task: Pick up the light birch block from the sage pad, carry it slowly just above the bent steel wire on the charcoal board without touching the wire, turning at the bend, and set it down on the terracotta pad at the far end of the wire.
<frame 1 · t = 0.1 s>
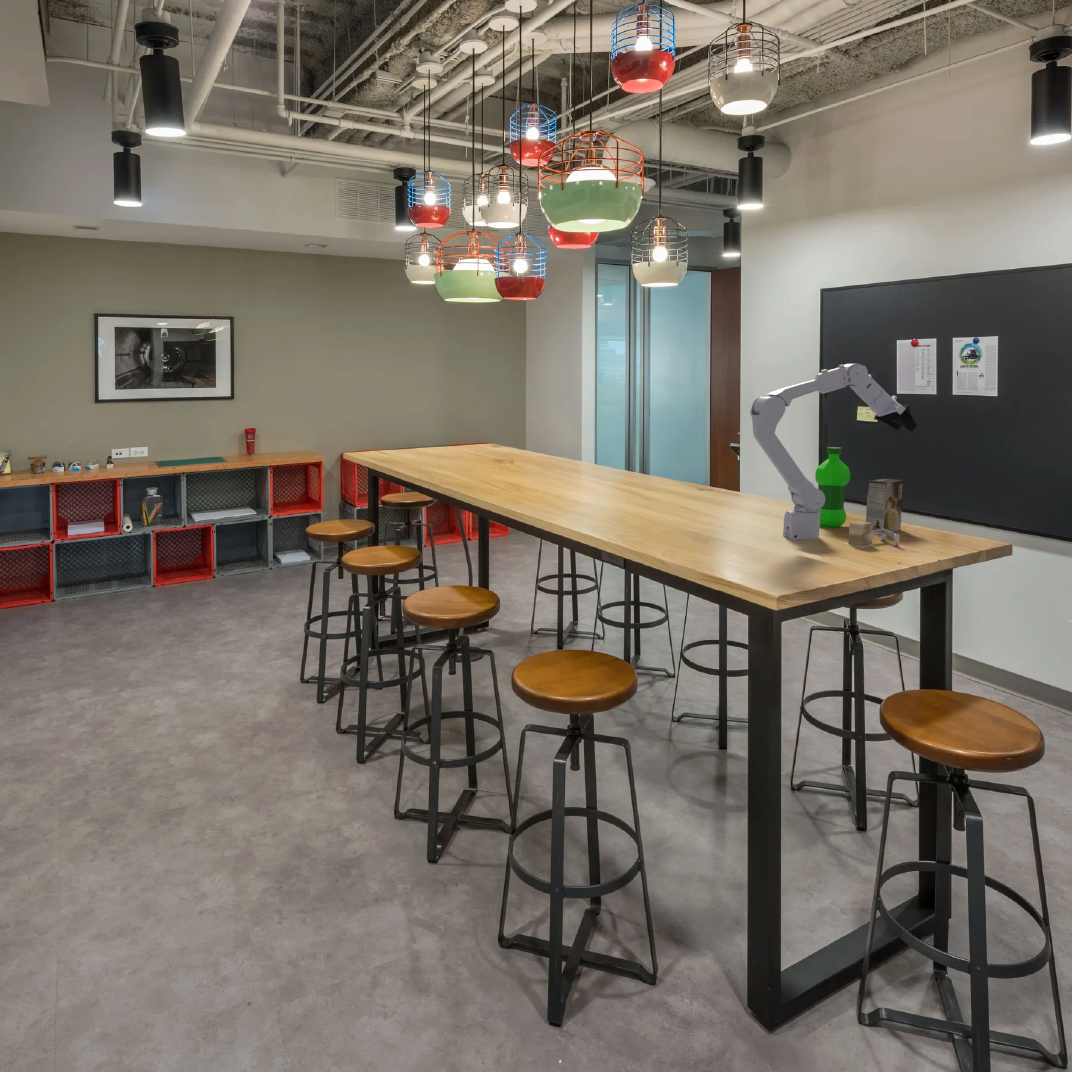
hand: (906, 428, 230), 32 cm above the table, tool tilted 50°, fingers open, 7 cm apart
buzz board: (877, 549, 221), on the table
coffee box: (882, 533, 246), on the table
bent wire: (883, 541, 228), resting on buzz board
birch block: (859, 544, 223), point 1 cm above the table, touching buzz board
plastic bottle: (829, 528, 254), on the table
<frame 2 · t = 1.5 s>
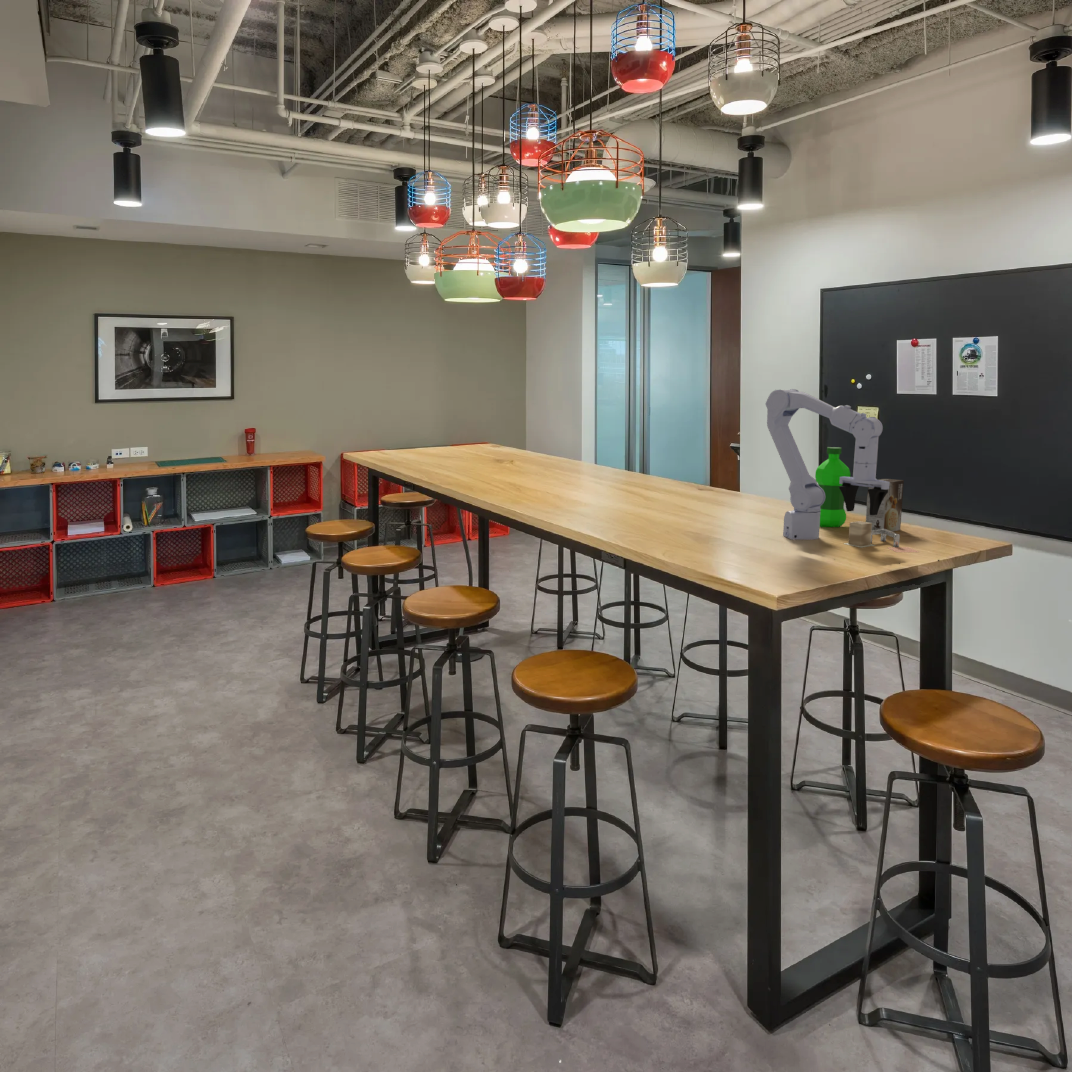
hand: (861, 512, 221), 10 cm above the table, tool pointing down, fingers open, 7 cm apart
nothing on the table moved.
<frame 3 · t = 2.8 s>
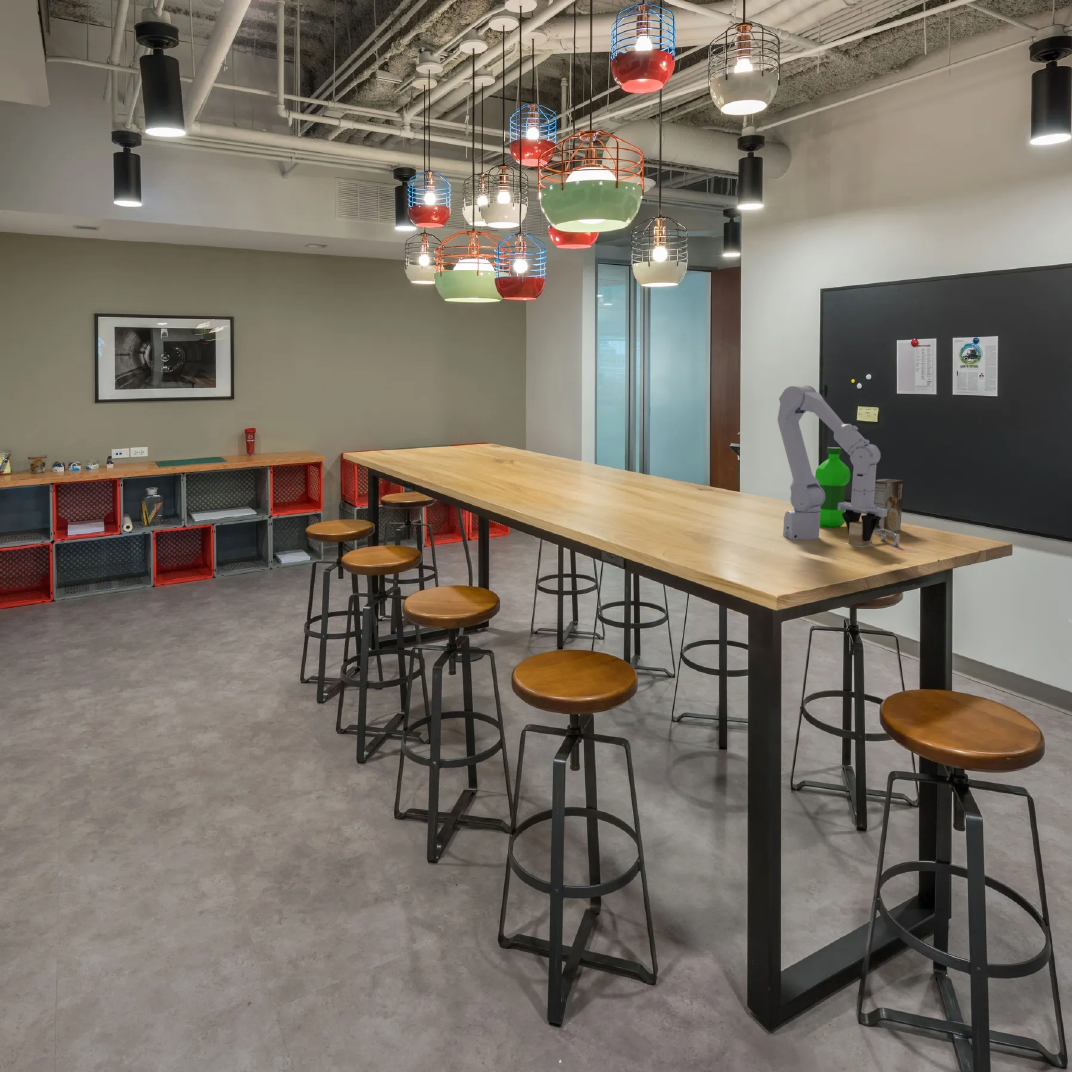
hand: (859, 539, 223), 3 cm above the table, tool pointing down, fingers closed on birch block, 4 cm apart
birch block: (859, 544, 223), point 1 cm above the table, touching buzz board, gripper
everything else where it was.
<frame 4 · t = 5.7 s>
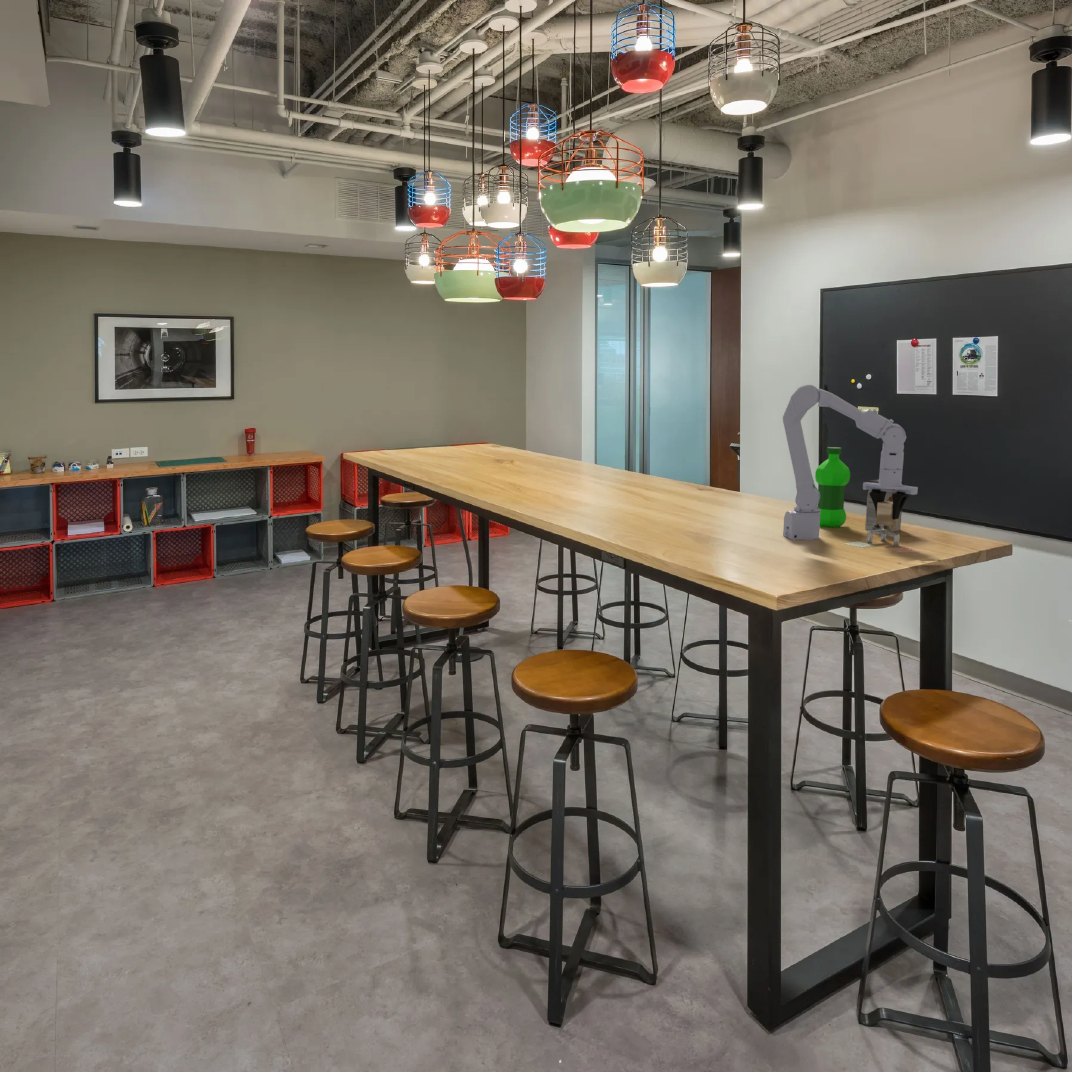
hand: (887, 518, 225), 8 cm above the table, tool pointing down, fingers closed on birch block, 4 cm apart
birch block: (886, 524, 225), point 6 cm above the table, touching gripper
everything else where it was.
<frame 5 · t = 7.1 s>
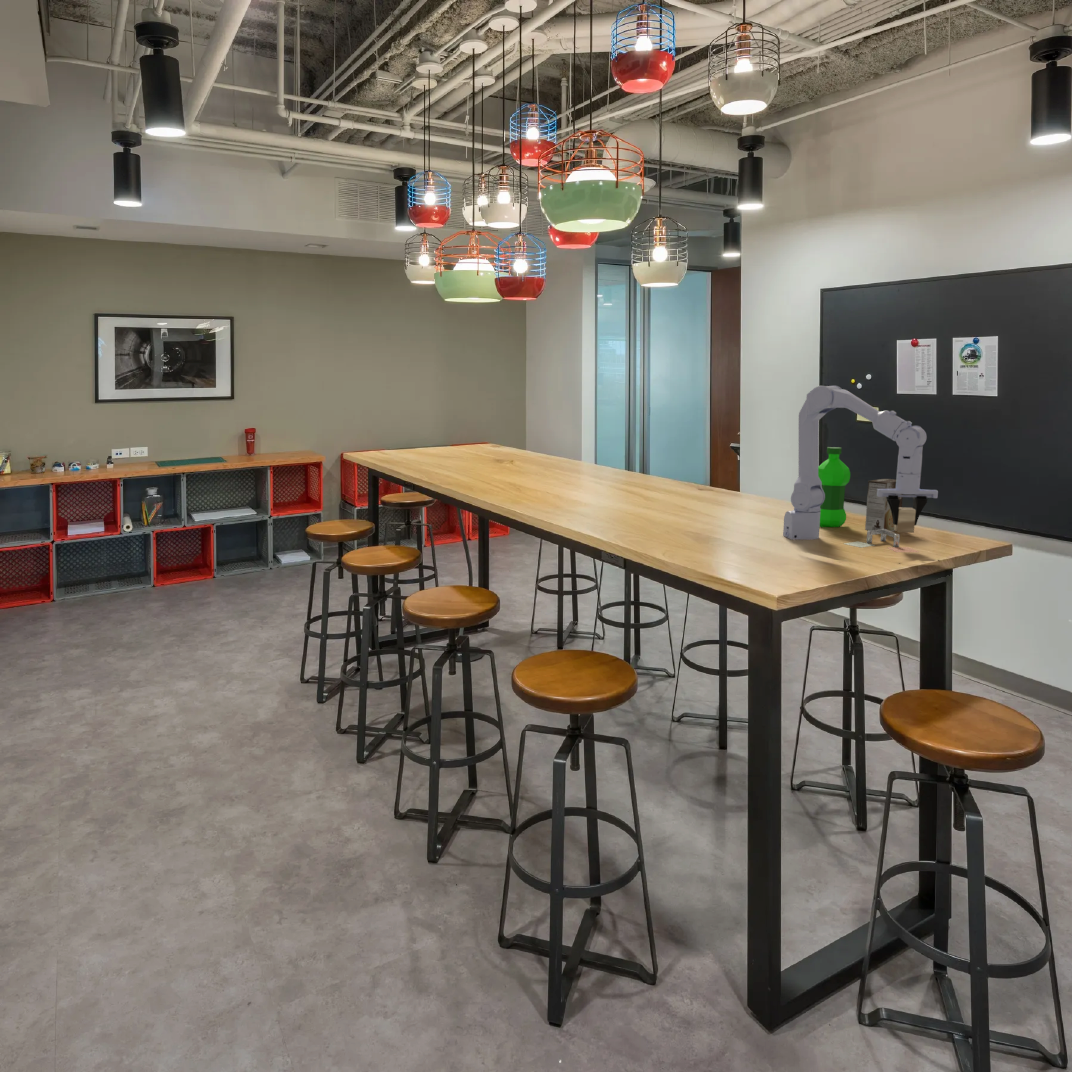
hand: (904, 524, 215), 8 cm above the table, tool pointing down, fingers closed on birch block, 4 cm apart
birch block: (903, 531, 215), point 6 cm above the table, touching gripper
everything else where it was.
when the fingers open (4 cm above the table, at t = 8.5 s): birch block drops 1 cm, resting on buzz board.
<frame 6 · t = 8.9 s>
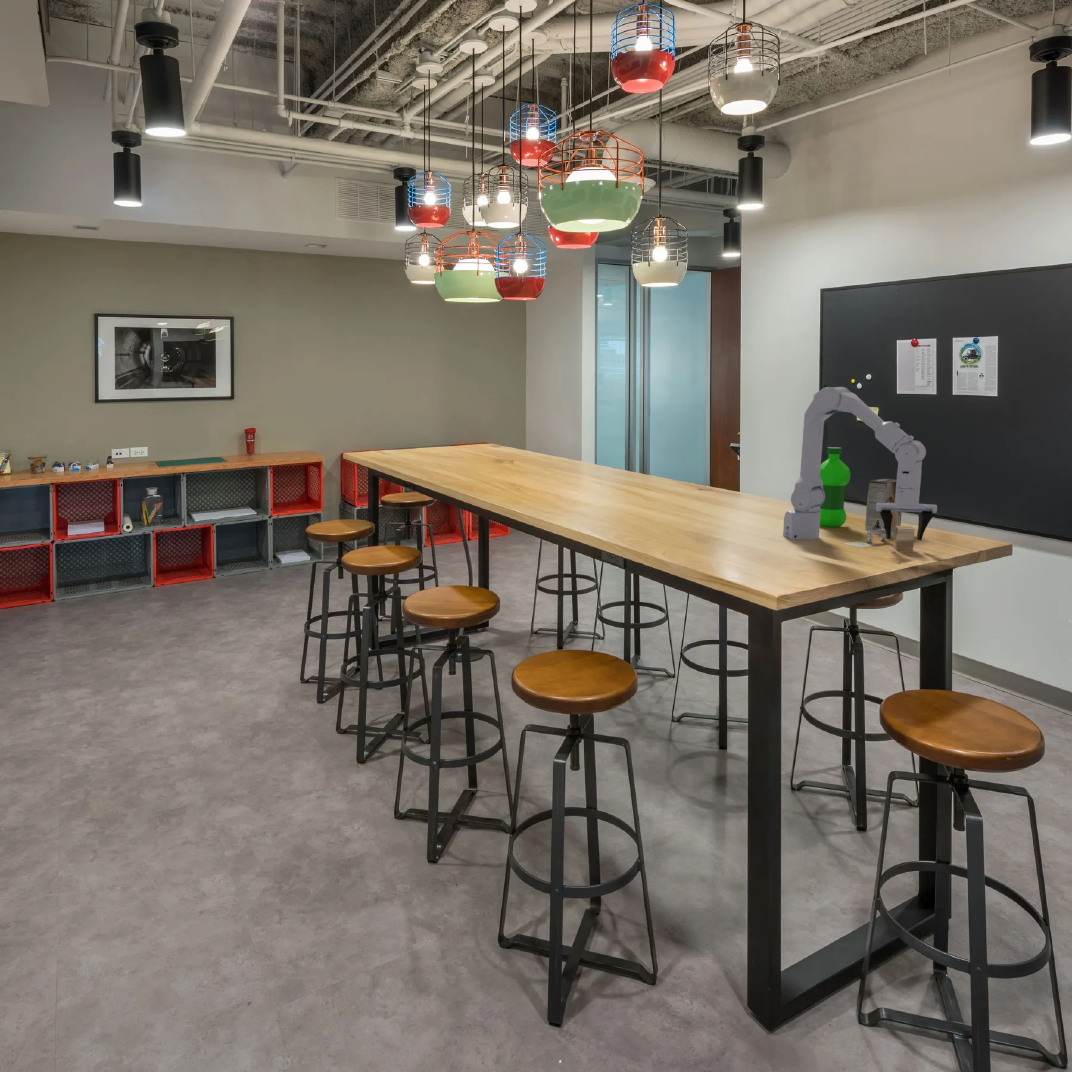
hand: (903, 538, 215), 4 cm above the table, tool pointing down, fingers open, 7 cm apart
birch block: (902, 549, 216), point 1 cm above the table, touching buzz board
everything else where it was.
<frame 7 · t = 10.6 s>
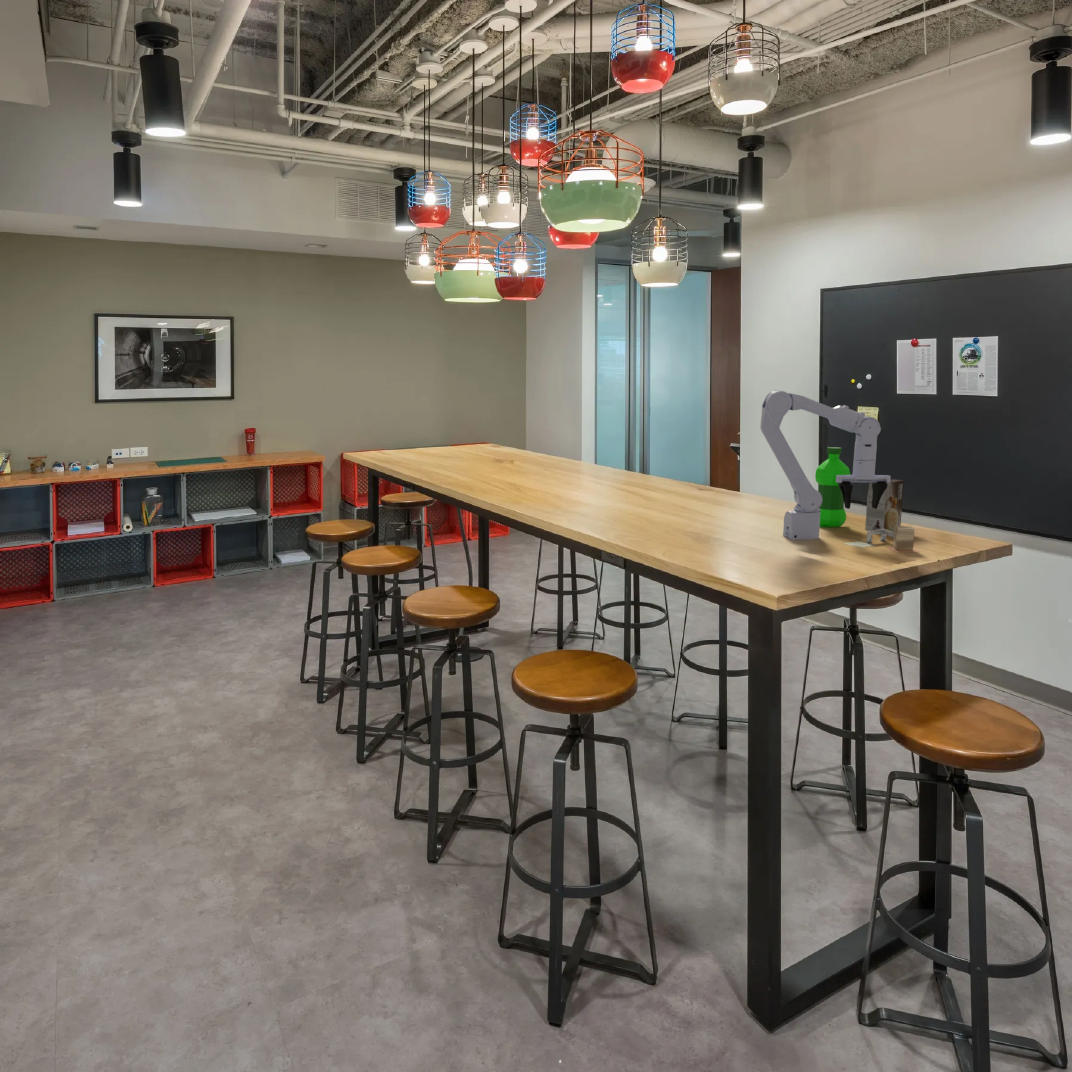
hand: (860, 508, 230), 10 cm above the table, tool pointing down, fingers open, 7 cm apart
nothing on the table moved.
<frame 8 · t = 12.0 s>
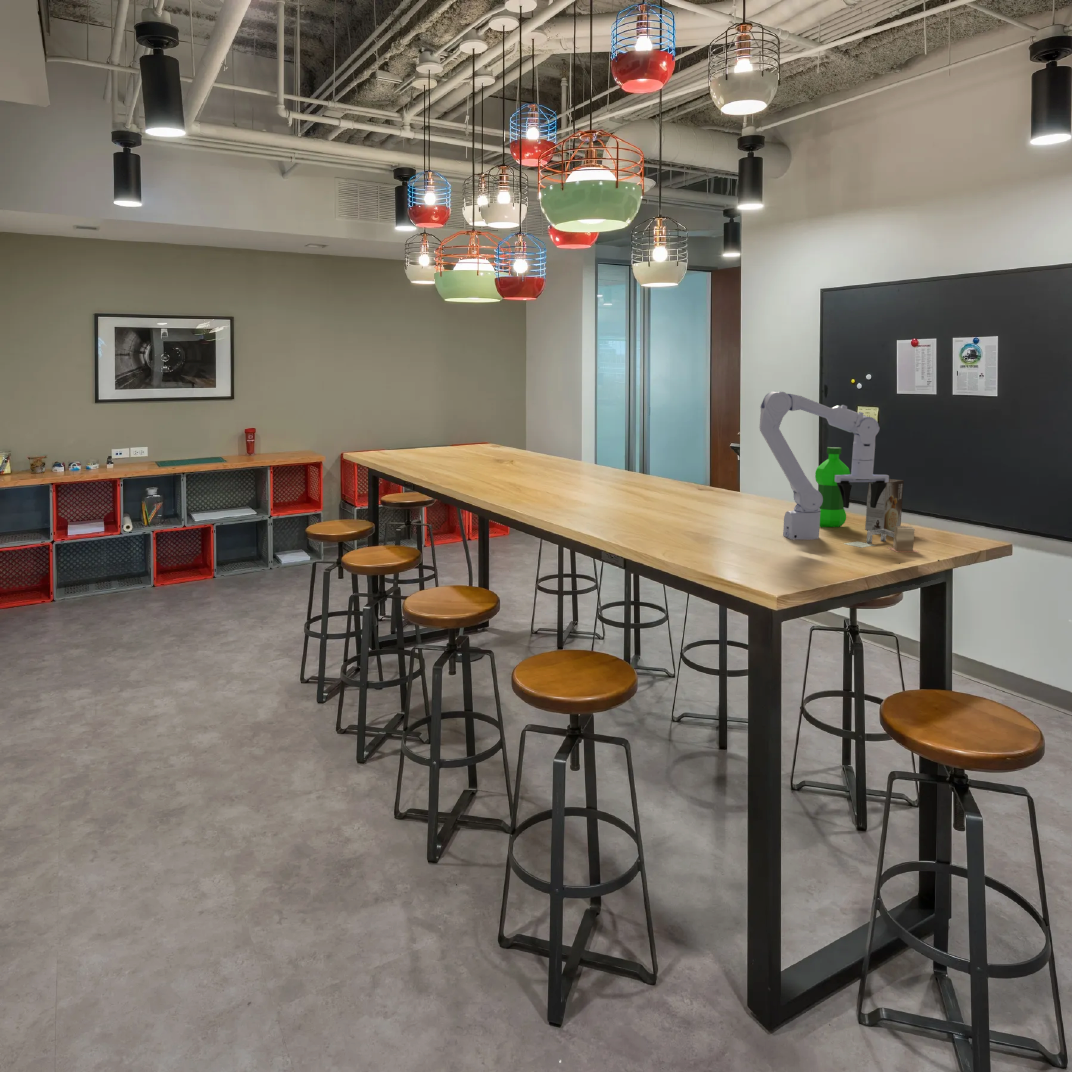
hand: (859, 507, 231), 10 cm above the table, tool pointing down, fingers open, 7 cm apart
nothing on the table moved.
at the end: birch block 0.0 cm from the target spot, point 1.2 cm above the table; birch block tilted 0°; the gripper is holding nothing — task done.
